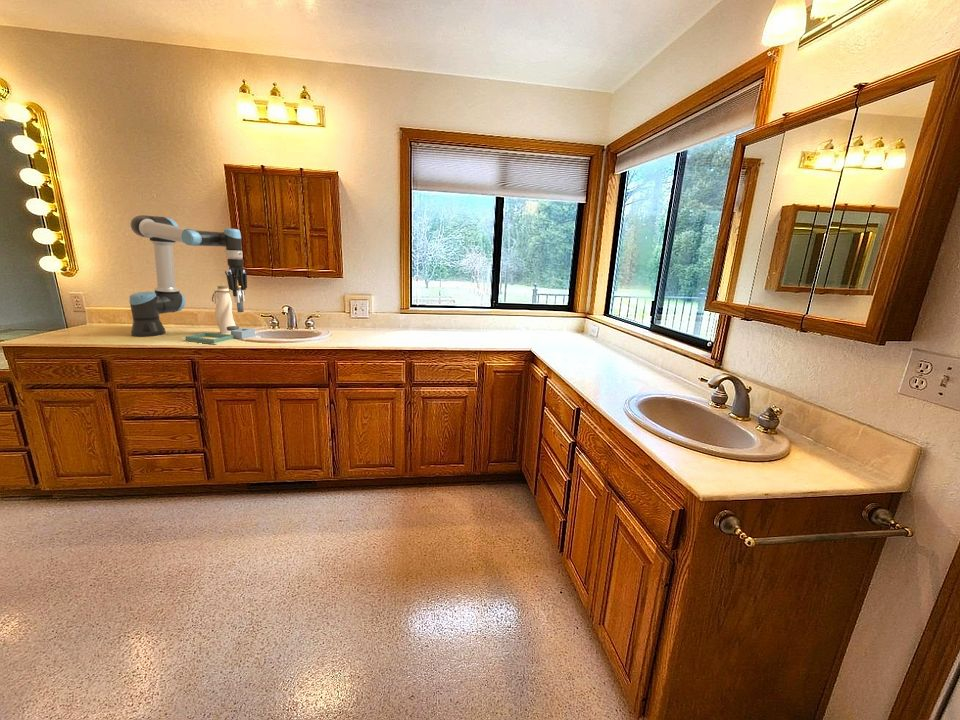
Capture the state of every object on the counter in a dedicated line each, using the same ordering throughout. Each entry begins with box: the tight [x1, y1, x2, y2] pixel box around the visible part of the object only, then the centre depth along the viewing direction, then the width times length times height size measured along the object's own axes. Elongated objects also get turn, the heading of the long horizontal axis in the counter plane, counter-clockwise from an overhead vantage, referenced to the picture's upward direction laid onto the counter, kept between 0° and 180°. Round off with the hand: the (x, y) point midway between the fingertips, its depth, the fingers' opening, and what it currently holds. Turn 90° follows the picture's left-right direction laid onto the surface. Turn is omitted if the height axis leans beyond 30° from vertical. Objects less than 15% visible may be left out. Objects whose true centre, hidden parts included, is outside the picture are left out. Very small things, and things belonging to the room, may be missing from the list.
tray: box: [184, 331, 235, 346], centre depth 221 cm, size 18×13×3 cm
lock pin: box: [236, 284, 245, 313], centre depth 225 cm, size 3×3×14 cm
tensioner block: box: [227, 325, 256, 340], centre depth 231 cm, size 14×10×6 cm
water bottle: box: [211, 285, 237, 335], centre depth 236 cm, size 10×9×28 cm
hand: (239, 301), depth 226 cm, fingers closed on lock pin, 3 cm apart
